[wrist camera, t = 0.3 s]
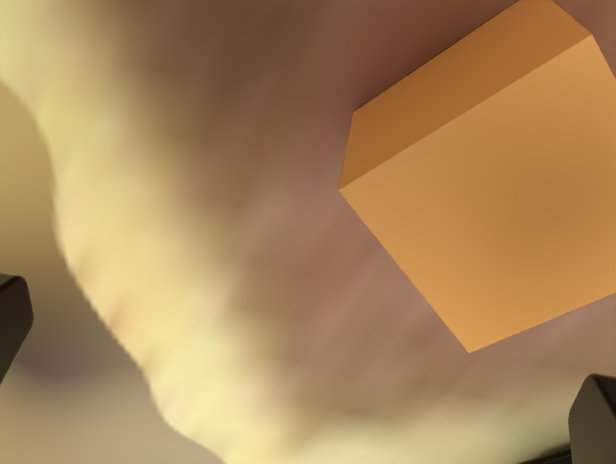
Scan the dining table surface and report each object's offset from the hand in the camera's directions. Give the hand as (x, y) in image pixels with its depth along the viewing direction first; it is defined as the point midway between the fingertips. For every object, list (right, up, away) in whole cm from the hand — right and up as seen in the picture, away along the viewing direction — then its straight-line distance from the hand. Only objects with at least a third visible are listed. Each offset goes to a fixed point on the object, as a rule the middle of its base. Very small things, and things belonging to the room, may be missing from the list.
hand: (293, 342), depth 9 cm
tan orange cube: (+7, +5, +11) cm, 14 cm away
